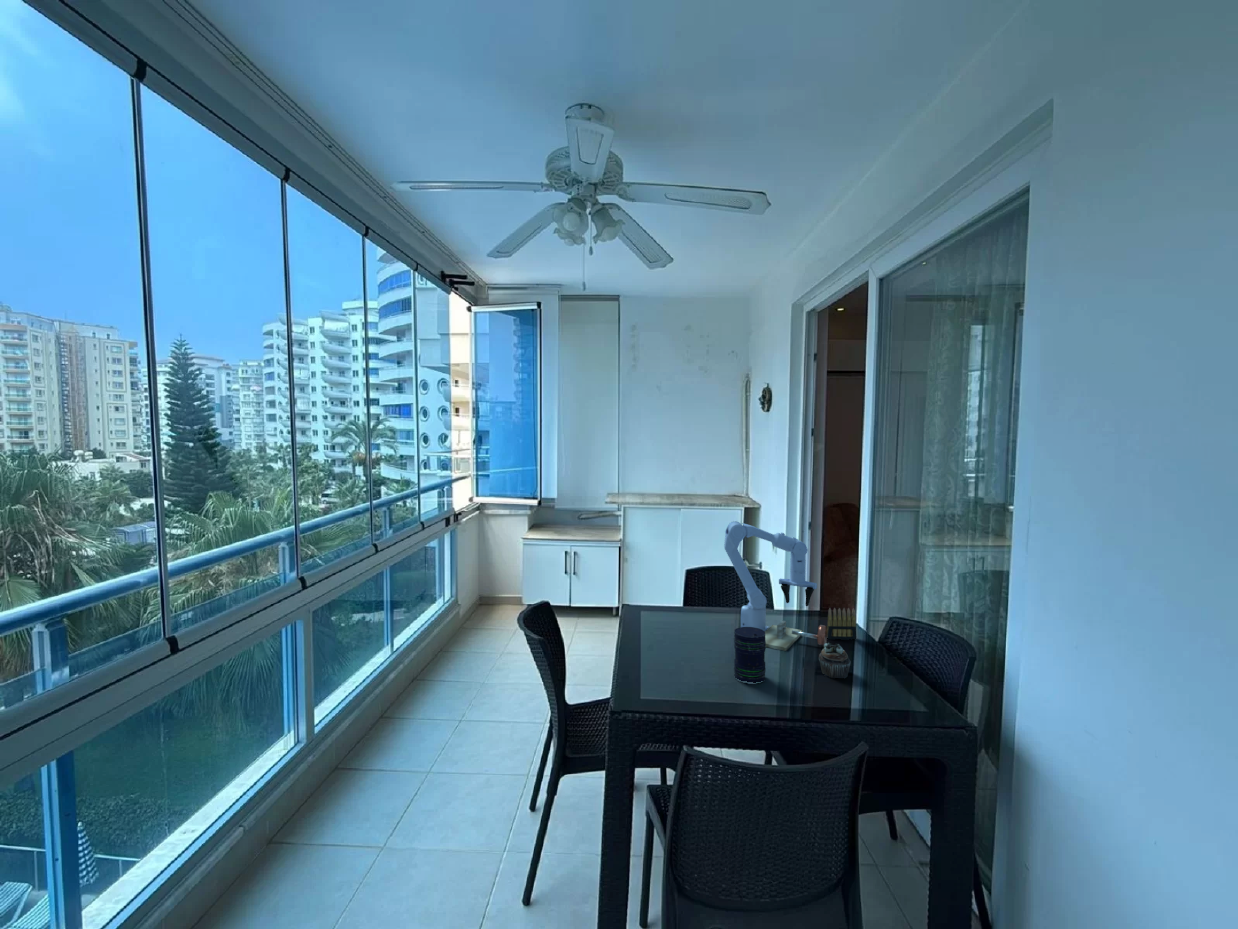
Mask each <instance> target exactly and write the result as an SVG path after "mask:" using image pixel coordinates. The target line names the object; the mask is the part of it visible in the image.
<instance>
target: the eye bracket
mask: <svg viewBox="0 0 1238 929" xmlns="http://www.w3.org/2000/svg"><path fill="white" fill-rule="evenodd" d="M792 630H794V631H799V632H804V631H803V630H802V629H799V628H798V629H797V628H792V627H787V621H786V620H781V621H779V623H778V624H772V625H771V626H769V628H768V629H767V630H766V631H765V640H766V645H765V647H766V648H769V649H774V650H779V651H784V652H787V651H788V650H789V649H790V648H791V646H792V645H793V644H794V643H796V641H797V640H798V639H799V638H800V637H801V636H800V635H794V634H792Z"/></svg>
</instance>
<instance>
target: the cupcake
mask: <svg viewBox="0 0 1238 929" xmlns="http://www.w3.org/2000/svg"><path fill="white" fill-rule="evenodd" d="M818 661H819V664H820V669H821V673H822V674H825V675H827V676H829V677H828V678H830V677H831V678H830V679H835V678H844V679H846V678H847V677H848V676H849V671H850V666H851V662H852V661H851V660H850V658H849V656H848V654H847V652H846V650H844V649H843V647H842V646H841V645H840V643H838V642H836V643H833V642H831V641H827V642H826V644H824V645H823V648H822V650H821V651H820V653H819V654H818ZM825 675H824V676H825ZM827 676H826V677H827Z"/></svg>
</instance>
